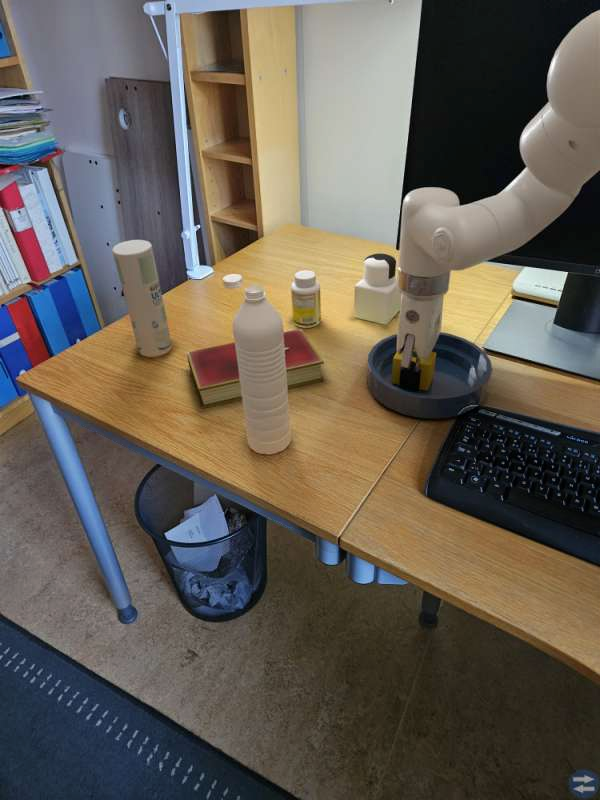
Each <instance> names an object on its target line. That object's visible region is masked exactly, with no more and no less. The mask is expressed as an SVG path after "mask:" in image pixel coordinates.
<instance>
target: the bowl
mask: <svg viewBox="0 0 600 800" xmlns="http://www.w3.org/2000/svg"><path fill="white" fill-rule="evenodd" d="M432 352H435V353H436V360H435V368H434V375H433V379H432V381H431V384H430V386H429V388H428V390H427V391H425V390H421V389H419V390H418V391H414V390H410V389H405V388H401V387H400V386H399V385H398V384H393V383H392V370H393V358H394V356H395V354H396V353H397V333H395V334H391V335H389V336H387V337H385V338H383V339H381V340H380V341H378V342H377V343H376V344H374V345H373V347H372V348H371V350H370V351H369V353H368V356H367V363H366V364H367V365H366V366H367V367H366V385H367V387H368V390H369V392H370V393H371V394H372V396H373V397H374V398H375V399H376V401H378V402H380V403H381V404H382V405H384V407H386V408H388V409H389V410H393V411H395V412H397V413H398V414H399V413H400V414H402V415H406V416H410V417H414V418H419V419H433V420H439V419H440V420H441V419H448V418H449V419H450V418H451V419H452V418H455V417H458V413H459V412H460V411H461V410H462V409H463V408H465V407H467V406H470V405H479V406H480V405H481V404H482V403H483V402H484V401H485V400H486V399H487V395H488V392H489V388H490V384H491V379H492V375H493V365H492V361H491V359H490V357H489V356H488V354H487V353H486V352H485V351H484V350H483V349H482V348H481V347H480V346H478V345H477V344H475V343H474V342H472V341H470V340H468V339H466V338H464V337H461V336H458V335H455V334H452V333H448V332H443V331H440V335H439V337H438V339H437V341H436V343H435V346H434V348H433V350H432Z"/></svg>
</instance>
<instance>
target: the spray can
mask: <svg viewBox="0 0 600 800" xmlns="http://www.w3.org/2000/svg"><path fill="white" fill-rule="evenodd" d="M111 249H112V250H111V251H112V256H113V259H114V263H115V267H116V270H117V271H116V272H117V274H118V278H119V282H120V286H121V290H122V293H123V297H124V301H125V304H126V309H127V312H128V316H129V319H130V323H131V328H132V332H133V335H134V339H135V343H136V346H137V350H138V352H139V354H140V355H141V356H143V357H146V358H156V357H161V356H163V355H165V354H168V352H170V351H171V350H172V346H173V343H172V339H171V338H172V337H171V334H170V329H169V324H168V319H167V313H166V310H165V305H164V299H163V294H162V289H161V284H160V280H159V275H158V270H157V265H156V260H155V255H154V250H153V245H152V243H151V242H150V241H148V240H145V239H131V240H125V241H122V242H119V243H118V244H116V245H114V246H113V248H111Z"/></svg>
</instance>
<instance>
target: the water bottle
mask: <svg viewBox="0 0 600 800" xmlns="http://www.w3.org/2000/svg"><path fill="white" fill-rule="evenodd" d="M222 284H223V287H224V288H225V289H228V290H234V289H235V290H236V289H239V288H241V287H243V285H244V281H243V275H241V274H239V273H231V274H226V275H224V276H223V278H222ZM266 296H267V293H266V292H265V289H264V287H263V286H262V285H260V284H250V285H248V286H246V287H245V289H244V294H243V299H244V300H243V302H242V304H241V305H240V307H239V309H238V310H237V312H236V314H235V315H234V318H233V322H232V334H233V339H234V342H235V347H236V355H237V362H238V370H239V379H240V386H241V395H242V399H243V400H241V401H242V407H243V416H244V424H245V430H246V440H247V444H248V446H249V448H250V449H251V450H253V451H254V452H255V453H257V454H260V455H276V454H277V453H281V452H283V451H284V450H286V449H287V448H288V446H289V445H290V444H291V441H292V432H291V431H292V430H291V418H290V407H289V406H290V405H289V396H288V394H289V391H288V390H289V389H288V387H287V374H286V364H285V349H284V332H285V331H284V321H283V318H282V316H281V314H280V312H279V311H278V310H277V309H276V307H274V305H272V303H271V302H270V301H269V300H268V299H267V298H266Z"/></svg>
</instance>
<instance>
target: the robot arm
mask: <svg viewBox="0 0 600 800" xmlns="http://www.w3.org/2000/svg"><path fill="white" fill-rule="evenodd" d="M546 94H547V99H548V101H547V103H546V104H545V105H544V106H543V107H542V108H541V109H540V111H538V112H537V114H535V116H534V117H532V119H531V120H530V121H529V122H528V123H527V124H526V126H524V128H523V131H522V132H521V135H520V138H519V152H520V157H521V159H522V161H523V163H524V165H525V168H524V169H523V170H522V171H521V172H520V173H519V174H518V175H517V176H516V177H515V178H514V179H513V180H512V181H511V182H510V183H509V184H508V185H507V186H506V187H505V188H504V189H503V190H502V191H500V192H499V193H497V194H496V195H492V196H488V197H485V198H483V199H479V200H477V201H473V202H470V203H468V204H462V205H460V199H459V197H458V195H457V194H456V193H455V192H454V191H452V190H450V189H446V188H442V187H434V186H431V187H430V186H429V187H420V188H416V189H413V190H411V191H409V192H408V193H407V194H406V195H405V197H404V199H403V200H402V201H403V202H402V208H401V221H400V222H401V223H400V234H399V235H400V236H399V248H398V249H399V251H398V261H397V262H398V264H397V276H396V277H397V289H398V291H399V292H400V293H402V296H401V306H400V311H399V315H398V323H397V324H398V325H397V333H396V334H397V352H398V354H401V353H402V352H403V354H402V361H401V370H400V382H399V386H400V387H401V388H405V389H410V390H414V391H418V390H419V386H420V377H421V369H419V368H420V361H421V358H422V359H426V358H428V357H429V355H430V354H431V352H432V350H433V348H434V346H435V343H436V341H437V339H438V337H439V335H440V332H442V323H443V311H444V310H443V309H444V298H445V295H446V294H447V293H448V292H449V288H450V283H451V274H452V271H455V272H456V271H458V272H459V271H464V270H467V269H470V268H472V267H476V266H478V265H480V264H482V263H485V262H488V261H490V260H492V259H495V258H498V257H500V256H503V255H505V254H508V253H510V252H512V251H515V250H517V249H518V248H520V247H522V246H524V245H525V244H527V243H528V242H529V241H531V240H532V239H533V238H534V237H536V236H537V235H538V234H539V233H540V232H542V231H543V230H544V229H545V228H547V227H548V226H549V225H550V224H552V223H553V222H554V221H555V220H556V219H557V218H559V217H560V216H561V215H562V214H563V213H564V212H565V211H566V210H567V209H568V208H569V207H570V206H571V204H572V203H573V202H574V200H575V198H577V196H578V195H579V194H580V191H581V189H582V187H583V185H585V184H586V183H587V182H588V181H590V179H591V178H592V177H594V176H595V175H596V174H597V173H598V172H599V171H600V9H599V10H596V11H595V12H591V14H589V15H588V16H586V17H585V18H583V19H582V20H580V21H579V22H578V23H577V24H576V25H575V26H574V27H573V28H571V29H570V31H568V33H567V34H566V36H565V37H564V38H563V39H562V40H561V42H560V43H559V45H558V47H557V48H556V50H555V51H554V54H553V57H552V59H551V62H550V65H549V69H548V72H547V79H546ZM414 349H415V350H416V351H413V350H414ZM412 357H416V363H415V362H414V361H412Z"/></svg>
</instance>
